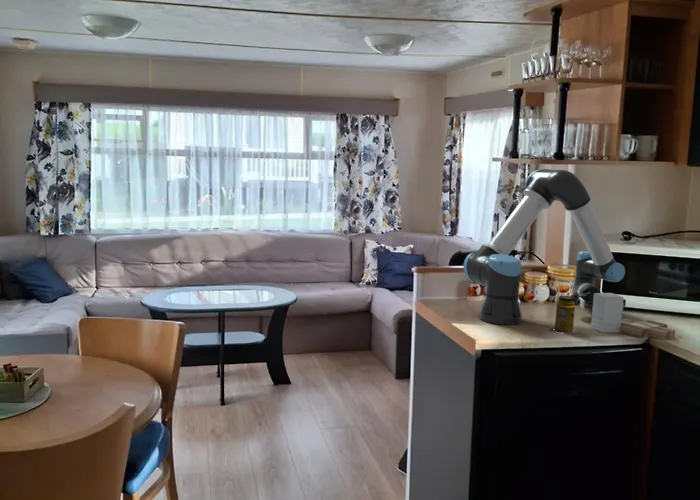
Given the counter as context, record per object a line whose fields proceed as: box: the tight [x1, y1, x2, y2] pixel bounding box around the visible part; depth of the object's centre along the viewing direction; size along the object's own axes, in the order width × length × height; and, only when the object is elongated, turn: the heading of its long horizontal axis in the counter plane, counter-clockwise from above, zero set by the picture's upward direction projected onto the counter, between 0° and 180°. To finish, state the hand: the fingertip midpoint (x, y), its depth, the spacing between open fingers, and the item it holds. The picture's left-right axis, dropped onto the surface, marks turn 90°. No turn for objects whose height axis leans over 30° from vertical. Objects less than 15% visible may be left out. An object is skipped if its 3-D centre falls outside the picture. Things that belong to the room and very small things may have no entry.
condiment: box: [546, 295, 579, 335], centre depth 224 cm, size 7×8×12 cm
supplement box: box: [590, 292, 624, 333], centre depth 228 cm, size 7×7×13 cm
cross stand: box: [620, 318, 676, 341], centre depth 227 cm, size 18×18×3 cm
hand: (602, 305), depth 236 cm, fingers open, 13 cm apart
